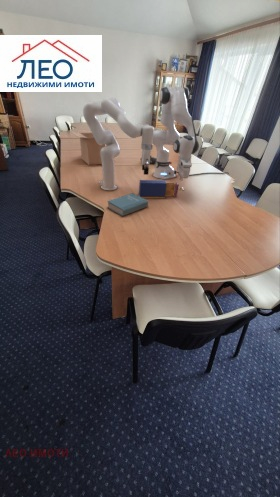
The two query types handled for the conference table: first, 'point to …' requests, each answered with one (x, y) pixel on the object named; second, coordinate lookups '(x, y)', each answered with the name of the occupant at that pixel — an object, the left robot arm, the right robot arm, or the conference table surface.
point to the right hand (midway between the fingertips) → (180, 180)
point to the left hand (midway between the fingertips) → (145, 172)
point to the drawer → (172, 189)
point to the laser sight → (152, 160)
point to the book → (127, 204)
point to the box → (89, 147)
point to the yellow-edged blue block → (152, 188)
